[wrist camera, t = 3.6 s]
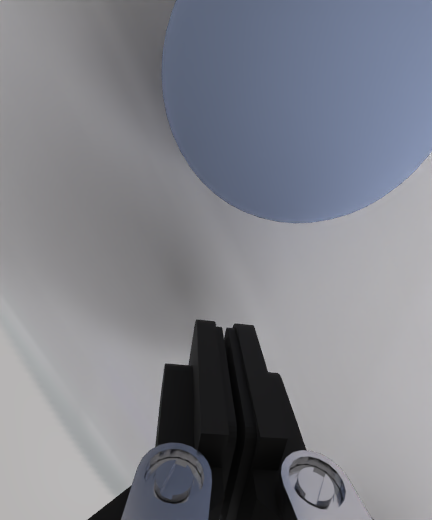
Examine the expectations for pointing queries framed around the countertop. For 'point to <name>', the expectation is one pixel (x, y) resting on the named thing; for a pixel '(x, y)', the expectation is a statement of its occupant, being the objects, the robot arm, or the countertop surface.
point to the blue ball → (300, 100)
